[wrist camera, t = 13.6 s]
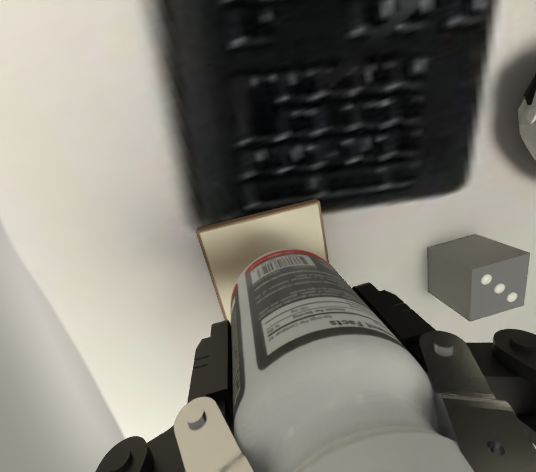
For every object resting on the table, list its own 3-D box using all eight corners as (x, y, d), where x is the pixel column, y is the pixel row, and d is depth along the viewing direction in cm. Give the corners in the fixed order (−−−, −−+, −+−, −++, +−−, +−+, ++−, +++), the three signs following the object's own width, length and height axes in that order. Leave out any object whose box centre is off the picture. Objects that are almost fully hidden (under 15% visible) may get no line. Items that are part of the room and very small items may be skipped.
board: (349, 415, 25) (354, 426, 24) (266, 440, 24) (268, 452, 23) (315, 198, 18) (320, 201, 17) (197, 227, 17) (195, 232, 16)
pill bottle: (300, 353, 15) (415, 682, 6) (210, 318, 14) (171, 690, 4) (357, 273, 14) (616, 523, 5) (267, 224, 12) (383, 452, 3)
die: (472, 278, 22) (524, 305, 18) (427, 291, 21) (470, 322, 18) (474, 233, 20) (531, 253, 17) (426, 247, 20) (473, 270, 16)
